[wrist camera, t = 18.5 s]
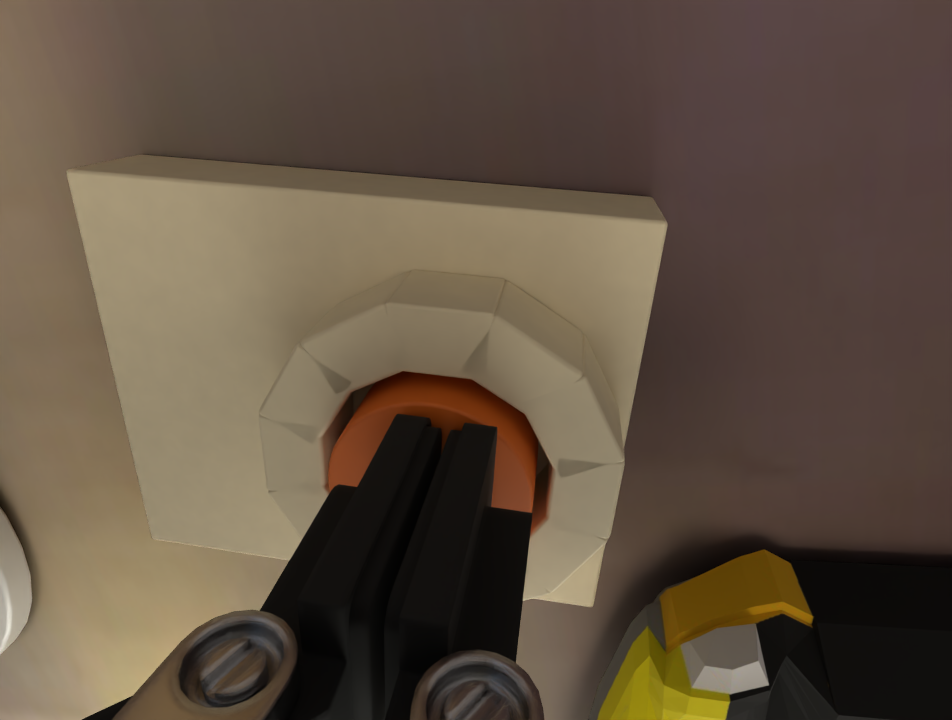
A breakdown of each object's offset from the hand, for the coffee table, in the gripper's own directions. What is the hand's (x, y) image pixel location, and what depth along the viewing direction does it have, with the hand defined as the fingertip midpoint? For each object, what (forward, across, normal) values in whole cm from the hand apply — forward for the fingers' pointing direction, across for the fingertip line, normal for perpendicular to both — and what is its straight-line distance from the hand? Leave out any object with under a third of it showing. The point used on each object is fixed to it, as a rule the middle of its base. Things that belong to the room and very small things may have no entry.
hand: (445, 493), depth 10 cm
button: (+2, 0, 0) cm, 2 cm away
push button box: (+4, +2, 0) cm, 5 cm away
